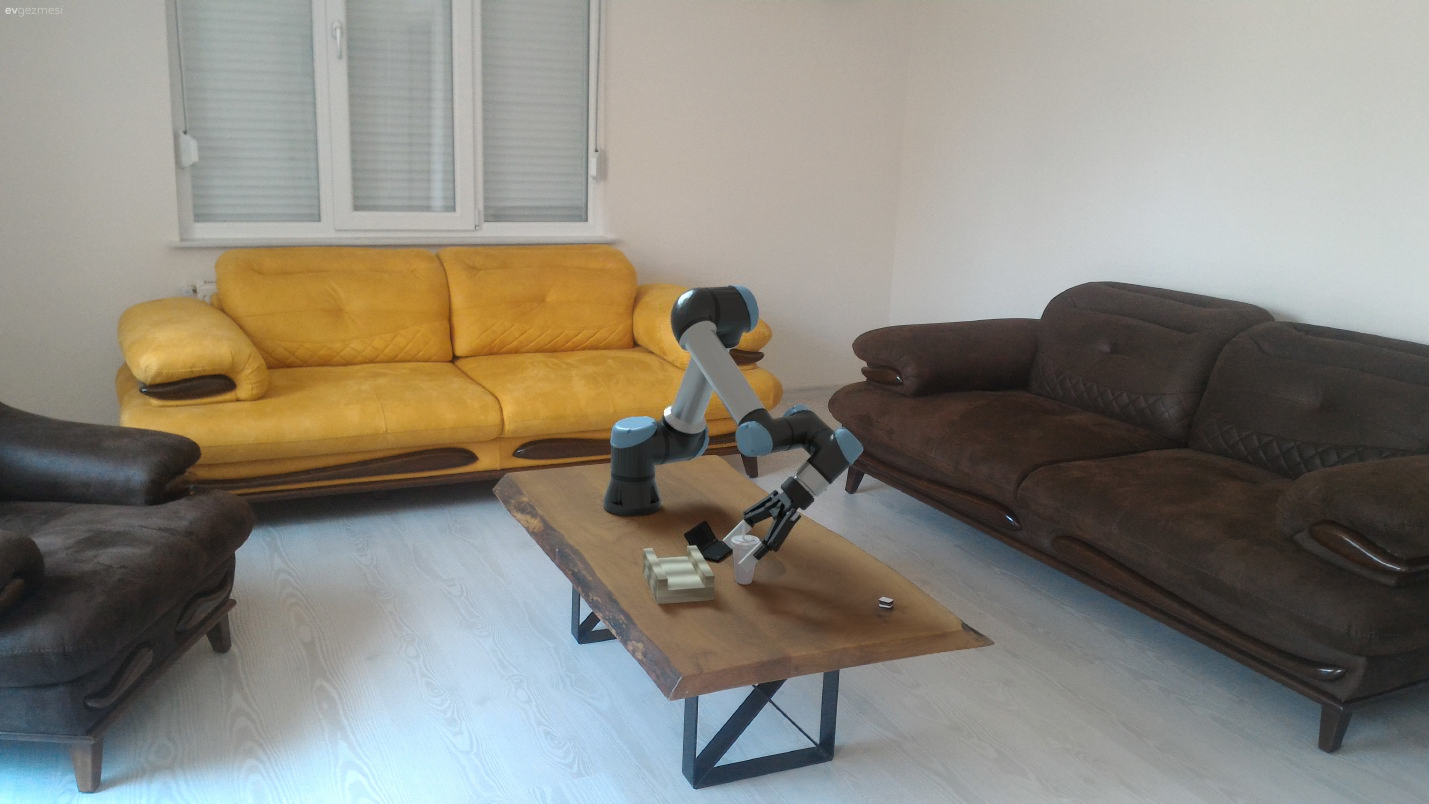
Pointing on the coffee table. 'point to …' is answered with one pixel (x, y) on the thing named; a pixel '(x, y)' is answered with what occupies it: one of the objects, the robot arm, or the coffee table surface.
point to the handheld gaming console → (707, 542)
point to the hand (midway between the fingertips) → (734, 555)
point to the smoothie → (743, 555)
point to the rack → (679, 577)
